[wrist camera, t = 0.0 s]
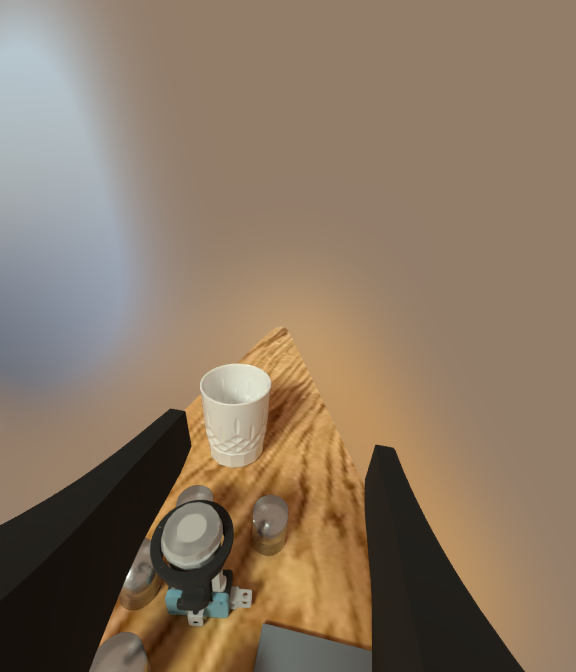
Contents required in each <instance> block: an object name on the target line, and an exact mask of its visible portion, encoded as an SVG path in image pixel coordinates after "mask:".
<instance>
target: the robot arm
mask: <svg viewBox="0 0 576 672" xmlns="http://www.w3.org/2000/svg"><path fill="white" fill-rule="evenodd" d="M190 449H191V441H190V435H189V429H188V424H187V418H186V412H185V411H181V410H175V409H169V410H168V411H167V412H165V413H164V414H163V415H162V416H161V417H159V418H158V419H157V420H156V421H154V422H153V423H152V424H151V425H150V426H148V427H147V428H146V429H145V430H144V431H142V432H141V433H140V434H139V435H137V437H135V438H134V439H132V440H131V441H130V442H129V443H127V444H126V445H125V446H124V447H122V448H121V449H120V450H118V451H117V452H116V453H115V454H113V455H112V456H110V457H109V458H108V459H106V460H105V461H104V462H102V463H101V464H99V465H98V466H97V467H95V468H94V469H93V470H91V471H90V472H88V473H87V474H85V475H84V476H83V477H81V478H80V479H78V480H77V481H75V482H74V483H72V484H70V485H69V486H67V487H66V488H64V489H63V490H61V491H60V492H58V493H56V494H55V495H53V496H52V497H50V498H48V499H46V500H45V501H43V502H41V503H39V504H38V505H36V506H34V507H32V508H31V509H29V510H27V511H26V512H24V513H22V514H21V515H19V516H17V517H15V518H13V519H11V520H9V521H7V522H5V523H4V524H2V525H0V672H89V671H90V668H91V665H92V663H93V660H94V657H95V655H96V652H97V649H98V647H99V644H100V641H101V639H102V636H103V634H104V631H105V629H106V626H107V624H108V621H109V619H110V616H111V614H112V611H113V609H114V606H115V604H116V602H117V599H118V597H119V595H120V592H121V590H122V588H123V585H124V583H125V580H126V578H127V576H128V573H129V571H130V569H131V567H132V565H133V562H134V560H135V558H136V556H137V553H138V551H139V549H140V547H141V545H142V542H143V540H144V539H145V537H146V535H147V533H148V531H149V529H150V527H151V525H152V523H153V522H154V520H155V518H156V516H157V514H158V513H159V511H160V509H161V507H162V506H163V504H164V502H165V500H166V498H167V497H168V495H169V493H170V491H171V489H172V488H173V486H174V484H175V482H176V480H177V478H178V477H179V475H180V473H181V471H182V468H183V466H184V464H185V461H186V459H187V456H188V454H189V451H190ZM365 520H366V532H367V543H368V554H369V566H370V577H371V593H372V672H525V671H524V670H523V669H522V667H521V666H520V665H519V663H518V662H517V661H516V659H515V658H514V657H513V655H512V654H511V652H510V651H509V650H508V648H507V647H506V645H505V644H504V642H503V641H502V640H501V638H500V637H499V635H498V634H497V633H496V631H495V630H494V628H493V627H492V625H491V624H490V623H489V621H488V620H487V618H486V617H485V616H484V614H483V613H482V611H481V610H480V608H479V607H478V605H477V604H476V602H475V601H474V599H473V598H472V596H471V595H470V593H469V592H468V590H467V589H466V587H465V585H464V584H463V582H462V581H461V579H460V578H459V576H458V574H457V573H456V571H455V569H454V568H453V566H452V565H451V563H450V561H449V560H448V558H447V556H446V554H445V553H444V551H443V549H442V548H441V546H440V544H439V542H438V540H437V538H436V537H435V535H434V533H433V531H432V529H431V527H430V526H429V524H428V522H427V520H426V518H425V516H424V514H423V512H422V510H421V508H420V506H419V504H418V502H417V500H416V498H415V496H414V493H413V491H412V489H411V487H410V485H409V482H408V480H407V478H406V476H405V473H404V471H403V469H402V466H401V464H400V461H399V459H398V456H397V453H396V451H395V449H394V448H391V447H387V446H381V445H375V448H374V452H373V455H372V458H371V461H370V465H369V468H368V472H367V475H366V478H365Z"/></svg>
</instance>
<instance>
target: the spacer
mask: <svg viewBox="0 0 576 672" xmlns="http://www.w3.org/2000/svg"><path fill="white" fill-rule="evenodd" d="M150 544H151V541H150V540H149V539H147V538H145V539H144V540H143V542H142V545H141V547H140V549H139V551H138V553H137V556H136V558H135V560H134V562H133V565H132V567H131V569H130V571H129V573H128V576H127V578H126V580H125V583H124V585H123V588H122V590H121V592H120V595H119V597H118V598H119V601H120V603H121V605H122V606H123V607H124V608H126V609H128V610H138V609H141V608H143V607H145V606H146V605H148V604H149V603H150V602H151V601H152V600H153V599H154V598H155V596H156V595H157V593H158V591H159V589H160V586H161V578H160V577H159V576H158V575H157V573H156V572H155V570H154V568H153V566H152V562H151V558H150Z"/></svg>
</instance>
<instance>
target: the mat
mask: <svg viewBox="0 0 576 672" xmlns="http://www.w3.org/2000/svg"><path fill="white" fill-rule="evenodd" d="M254 672H372V651H369V650H365V649H361V648H358V647H354V646H350V645H346V644H342V643H338V642H334V641H330V640H327V639H323V638H319V637H315V636H311V635H307V634H303V633H299V632H296V631H292V630H288V629H284V628H280V627H276V626H272V625H268V624H265V623H263V625H262V631H261V636H260V641H259V646H258V651H257V656H256V662H255V667H254Z"/></svg>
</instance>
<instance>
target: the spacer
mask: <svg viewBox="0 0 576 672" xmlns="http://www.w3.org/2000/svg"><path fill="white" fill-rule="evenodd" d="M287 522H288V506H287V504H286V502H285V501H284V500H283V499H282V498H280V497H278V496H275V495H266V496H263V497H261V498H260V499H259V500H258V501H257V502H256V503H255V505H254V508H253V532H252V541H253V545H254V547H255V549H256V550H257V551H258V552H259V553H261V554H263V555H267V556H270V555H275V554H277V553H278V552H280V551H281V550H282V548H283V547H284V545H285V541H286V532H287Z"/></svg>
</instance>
